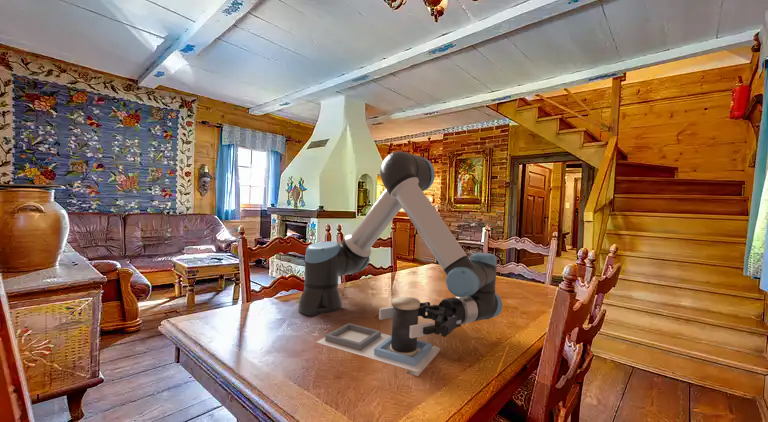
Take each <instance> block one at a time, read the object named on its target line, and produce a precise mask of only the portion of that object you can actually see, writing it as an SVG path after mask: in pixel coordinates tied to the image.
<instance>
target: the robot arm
mask: <svg viewBox="0 0 768 422" xmlns="http://www.w3.org/2000/svg"><path fill="white" fill-rule="evenodd" d="M379 173H380V174H379V175H380V179H381V182H382V185H383V186H384V188H385V189H384V190H383V192H382V193H381V194H380V196H379V197H378V198H377V199H376V201H375V202H374V204H373V205H371V208H370V209H369V210H368V212H366V213H367V214H366V215H365V216H364V217H363V219H362V220H361V221H360V223H359V224H358V226H357V227H356V228H355V229H354V230H353V232H352V233H349V234H348V233H347V234H346V235H345V237H344V238H343V239H342V240H341V242H340V243H338V242H336V241H319V242H314V243H310V244H309V245H307V247H306V248H305V255H304V285H303V286H304V288H303V290H302V294H301V296H300V300H299V302H298V312H299V313H300V314H302V315H305V316H310V317H317V316H319V315H321V314H330V313H334V312H338V311H339V310H341V309H343V301H342V298H341V293H340V290H339V277H344V276H347V275H352V274H358V273H359V272H362V271H363V270H364V269H366V268H367V267H368V265H369V264H370V263H369V262H370V260H371V259H370V257H371V254H372V247H373V245H374V244H375V243H376V241H377V240H378V239H379V238H380V236H381V235H382V234H383V232H384V231H385V230H386V229H387V227H388V226H389V225H390V223H391V222H392V221H393V220H394V218H395V217H396V215H398V213H399V212H400V210H401V209H403V211H404V213H405V214H406V215H407V216H408V218H409V220H410V221H411V223H412V225H413V226H414V228H415V229H416V230H417V232H418V234H419V236H420V237H421V238H422V240H423V241H424V243H425V244H426V246H427V247H428V248H429V250H430V252H431V253H432V256H433V257H434V258H435V259H436V261H437V262H438V264H439V265H440V267H441V269H442V270H443V271H444V273H445V275H446V278H445V282H446V283H445V285H446V287H447V289H448V291H449V292H450V293H451V294H452V295H454V297H453V296H451V297H447V298H443V299H442V300H441V301H440V302H439V304H433V305H431V302H429V301H426V302H420V307H419V308H418V317H422V318H423V319H424V320H425V319H427V320H432V321H428V322H422V323H418V324H416V325H411V326H410V334H409V337H410V338H411V339H412V338H416V337H417V338H419V337H424V336H425V337H426V336H430V335H433V334H435V335H441V337H444V338H445V337H447V336H449V335H450V334H451V333H452V332H453V331H455V329H456V328H460V327H462V325H466V324H469V323H474V322H478V321H485V320H490V319H493V318H495V317H497V316H499V315H500V314H501V312H503V311H502V310H503V301H502V299H501V297H500V295H499V294H497V293H496V284H497V268H498V266H497V265H498V263H497V256H496V255H495V254H493V253H488V252H473V253H471V254H470V257H469V256H468V255H467V253H466V252H465V250H464V249H463V248H462V246H461V244H460V243H459V241H457V239H456V238H455V236H454V234H453V233H452V232H451V230H450V229H449V228H448V226H447V224H446V223H445V221H444V220H443V219H442V217H441V215H439V213H438V212H437V210H436V209H435V207H434V205H432V203H431V201H430V200H429V198H428V197H427V196H426V194H425V193H424V191H426V190H428V189H429V188H430V187H432V185H433V184H434V181H435V177H436V175H435V174H436V173H435V168H434V166H433V164H432V162H431V161H430V160H428V159H427V158H425V157H424V156H421V155H416V154H413V153H409V152H406V151H401V150H400V151H399V150H398V151H394V152H391V153H389V154H388V155H387V156H385V157H384V159H383V160H382V162H381V166H380V168H379ZM378 311H379V312H378V320H386V319H391V318H392V319H393V306H389V307H381V308H379V310H378ZM433 321H434V322H433Z"/></svg>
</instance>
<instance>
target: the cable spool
mask: <svg viewBox="0 0 768 422" xmlns="http://www.w3.org/2000/svg"><path fill="white" fill-rule="evenodd" d="M420 303H421V301H420V300H419V299H417V298H415V297H411V296H410V297H409V296H397V297H394V298H392V300H391V307H393V318H392V326H391V336H392V342H391V345H390V351H392V352H395V353H399V354H403V355H406V356H410V357H414V356H415V355H416V354H417V353H418V347H417V340H418V337H416V338H412V339H411V338H410V337H409V334H410V326H411V325H416V324H419V316H418V308H419V307H420Z"/></svg>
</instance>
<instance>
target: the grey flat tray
mask: <svg viewBox="0 0 768 422" xmlns="http://www.w3.org/2000/svg"><path fill="white" fill-rule="evenodd" d="M391 342H392V334H387V333H382V331H381V330H380V329H379V330H378V329H376V328H370V327H366V326H362V325H358V324H353V323H350V322H348V323H346V324H344V325H342V326H340V327H338V328H337V329H334V330H333V331H331V332H329V333H326V335H324V337H322V338H320V339H319V340H317V341H315V343H318V344H320V345H325V346H328V347H330V348H334V349H336V350H337V349H338V350H342V351H344V352H347V353H351V354H354V355H358V356H360V357H366V358H369V359H372V360H375V361H379V362H382V363H385V364H389V365H392V366H396V367H398V368H403V369H406V370H408V371H407V372H406V374H409V375H412V376H415V377H419V376H420V374H421V373H422V372H423V371H424V370H425V369H426V367H427V366H428V365H429V364H430V363H431V362H432V361H433V359H434V358H435V357H436V356H437V355H438V354H439V352H440V350H441V349H440V346H439V347H438V346H435V345H433V343H431V342H428V341H423V340H420V339H417V347H418V353H417V354H416V355H415V356H414V357H410V356H406V355H403V354H399V353H395V352H392V351H390V345H391Z"/></svg>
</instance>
